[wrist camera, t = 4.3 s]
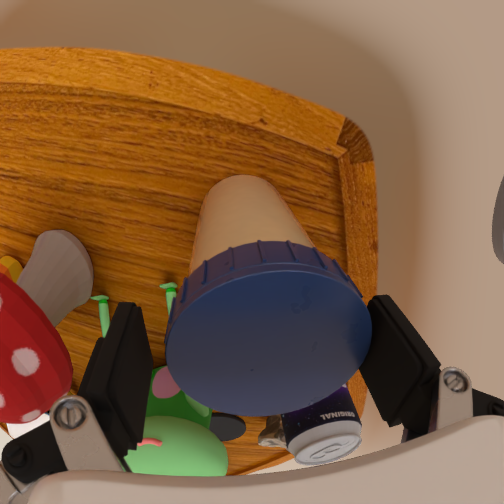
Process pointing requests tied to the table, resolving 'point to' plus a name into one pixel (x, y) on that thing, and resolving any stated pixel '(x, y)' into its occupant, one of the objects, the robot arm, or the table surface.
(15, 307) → the decorative mushroom
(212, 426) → the coaster
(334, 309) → the lid
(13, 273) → the candy corn
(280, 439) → the rock
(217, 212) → the lidded jar
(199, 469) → the toy character
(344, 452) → the beverage can
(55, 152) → the table surface
